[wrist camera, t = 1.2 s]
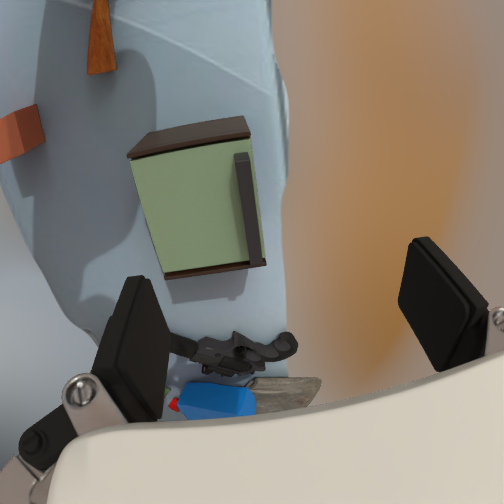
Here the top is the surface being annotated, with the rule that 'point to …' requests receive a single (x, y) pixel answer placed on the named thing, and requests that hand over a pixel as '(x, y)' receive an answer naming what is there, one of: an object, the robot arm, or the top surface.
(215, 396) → the blue toy gun
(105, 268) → the top surface
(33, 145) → the terracotta block
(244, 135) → the walnut box
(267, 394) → the stone
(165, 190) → the sliding lid
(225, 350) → the revolver
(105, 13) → the kendama
